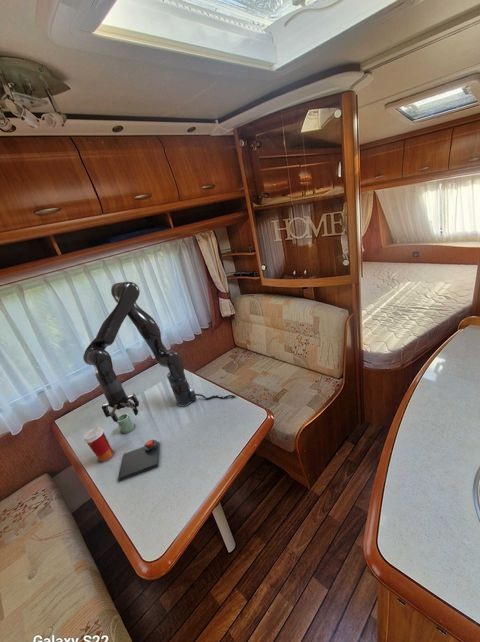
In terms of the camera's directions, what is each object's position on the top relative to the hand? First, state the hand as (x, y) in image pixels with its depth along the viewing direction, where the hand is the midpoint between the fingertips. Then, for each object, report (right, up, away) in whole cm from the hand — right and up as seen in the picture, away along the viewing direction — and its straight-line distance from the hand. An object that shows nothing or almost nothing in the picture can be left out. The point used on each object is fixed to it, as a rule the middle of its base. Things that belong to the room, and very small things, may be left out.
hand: (127, 417), depth 125 cm
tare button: (+10, -13, +1) cm, 17 cm away
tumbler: (-9, -12, +20) cm, 25 cm away
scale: (+8, -19, -3) cm, 21 cm away
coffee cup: (-12, -20, +4) cm, 24 cm away
